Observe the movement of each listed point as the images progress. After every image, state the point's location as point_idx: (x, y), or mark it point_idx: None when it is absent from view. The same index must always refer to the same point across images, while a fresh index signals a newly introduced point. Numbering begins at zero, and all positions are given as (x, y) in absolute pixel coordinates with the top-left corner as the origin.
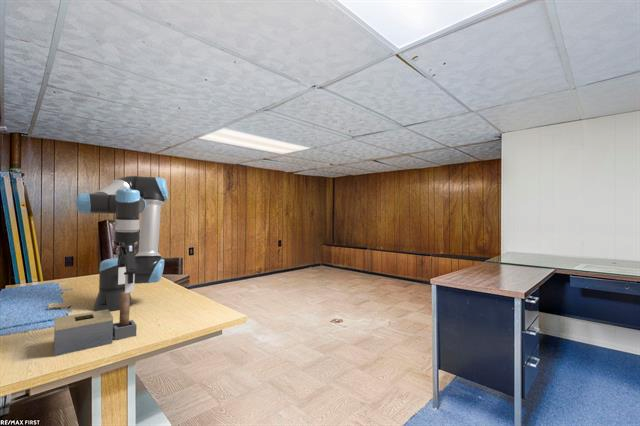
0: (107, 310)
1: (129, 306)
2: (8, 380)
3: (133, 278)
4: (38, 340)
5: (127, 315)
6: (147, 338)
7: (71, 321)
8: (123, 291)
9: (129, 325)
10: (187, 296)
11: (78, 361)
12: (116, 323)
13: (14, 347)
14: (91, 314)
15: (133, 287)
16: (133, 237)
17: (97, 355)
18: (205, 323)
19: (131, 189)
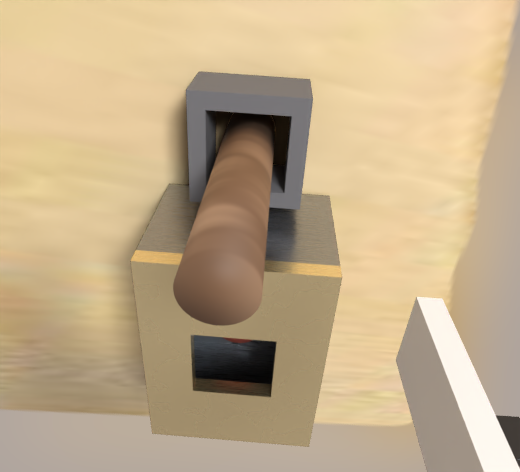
0: (156, 269)
1: (248, 183)
2: (389, 422)
3: (509, 466)
4: (96, 360)
5: (269, 170)
6: (397, 35)
7: (262, 406)
8: (186, 299)
9: (293, 136)
10: None
11: (412, 308)
12: (200, 182)
13: (128, 402)
14: (190, 337)
15: (458, 344)
16: None
17: (413, 259)
18: None
19: None
